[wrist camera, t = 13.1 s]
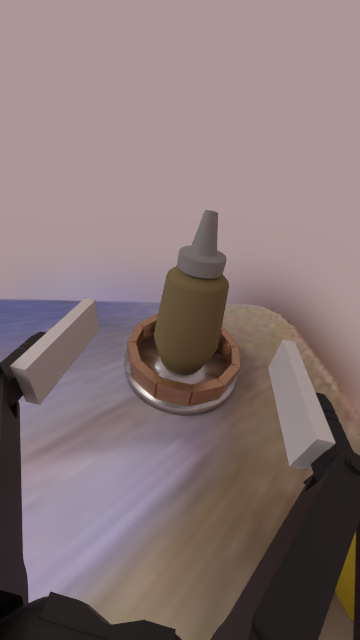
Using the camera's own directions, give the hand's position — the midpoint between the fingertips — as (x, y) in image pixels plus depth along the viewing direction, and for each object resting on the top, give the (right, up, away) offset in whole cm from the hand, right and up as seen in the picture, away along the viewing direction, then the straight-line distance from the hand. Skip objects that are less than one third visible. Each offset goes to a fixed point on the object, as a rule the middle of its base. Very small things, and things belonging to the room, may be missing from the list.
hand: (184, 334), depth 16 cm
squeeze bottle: (0, -4, +14) cm, 15 cm away
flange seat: (0, -5, +15) cm, 15 cm away
